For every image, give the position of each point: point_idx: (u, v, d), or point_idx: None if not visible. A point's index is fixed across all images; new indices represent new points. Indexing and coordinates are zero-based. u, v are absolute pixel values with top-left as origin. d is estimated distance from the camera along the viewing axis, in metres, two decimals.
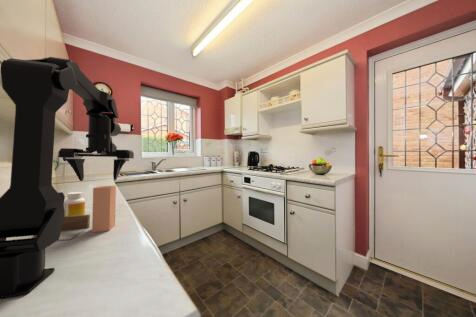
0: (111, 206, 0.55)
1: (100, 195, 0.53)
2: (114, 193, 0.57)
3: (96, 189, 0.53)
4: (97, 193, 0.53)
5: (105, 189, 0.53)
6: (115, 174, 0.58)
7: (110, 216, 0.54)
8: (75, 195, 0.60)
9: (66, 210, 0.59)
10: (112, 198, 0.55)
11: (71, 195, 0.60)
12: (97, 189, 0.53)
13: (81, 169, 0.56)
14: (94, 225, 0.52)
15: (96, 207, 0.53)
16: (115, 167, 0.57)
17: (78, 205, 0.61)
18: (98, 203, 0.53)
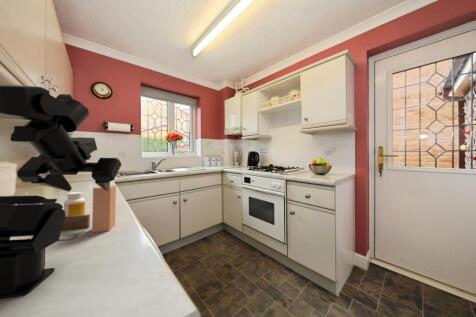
0: (111, 206, 0.55)
1: (100, 195, 0.53)
2: (114, 193, 0.57)
3: (96, 189, 0.53)
4: (97, 193, 0.53)
5: None
6: (105, 188, 0.46)
7: (110, 216, 0.54)
8: (75, 195, 0.60)
9: (66, 210, 0.59)
10: (112, 198, 0.55)
11: (71, 195, 0.60)
12: (97, 189, 0.53)
13: (62, 181, 0.45)
14: (94, 225, 0.52)
15: (96, 207, 0.53)
16: (101, 186, 0.44)
17: (78, 205, 0.61)
18: (98, 203, 0.53)
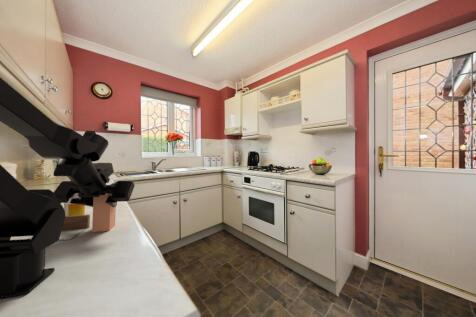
0: None
1: None
2: None
3: None
4: None
5: None
6: (113, 206, 0.55)
7: (110, 216, 0.54)
8: None
9: (66, 210, 0.59)
10: None
11: None
12: None
13: None
14: (94, 225, 0.52)
15: (97, 207, 0.53)
16: (110, 204, 0.52)
17: (78, 205, 0.61)
18: (98, 203, 0.53)
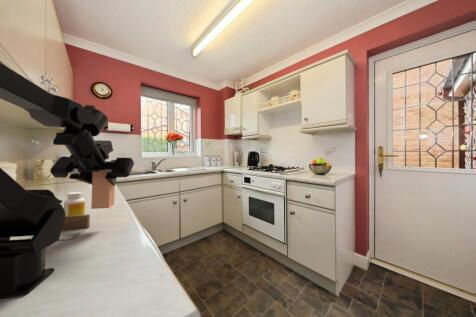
0: None
1: (99, 172, 0.53)
2: None
3: None
4: None
5: None
6: (112, 183, 0.55)
7: (110, 194, 0.54)
8: (75, 195, 0.60)
9: (66, 210, 0.59)
10: None
11: (71, 195, 0.60)
12: None
13: None
14: (93, 202, 0.52)
15: (96, 183, 0.52)
16: (109, 181, 0.52)
17: (78, 205, 0.61)
18: (97, 180, 0.53)
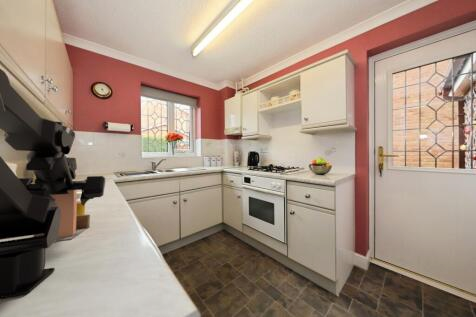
0: (74, 208, 0.50)
1: (60, 198, 0.48)
2: (76, 194, 0.52)
3: None
4: (57, 195, 0.47)
5: None
6: (83, 203, 0.51)
7: (73, 220, 0.50)
8: None
9: None
10: (74, 200, 0.50)
11: None
12: None
13: None
14: None
15: None
16: (83, 201, 0.49)
17: (78, 205, 0.61)
18: (58, 206, 0.47)
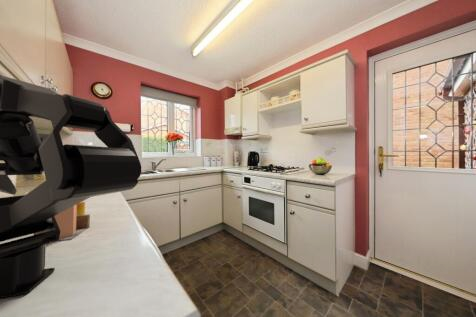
0: (74, 208, 0.50)
1: None
2: None
3: None
4: None
5: None
6: None
7: (73, 220, 0.50)
8: None
9: None
10: None
11: None
12: None
13: (8, 183, 0.39)
14: None
15: None
16: None
17: (78, 205, 0.61)
18: None
